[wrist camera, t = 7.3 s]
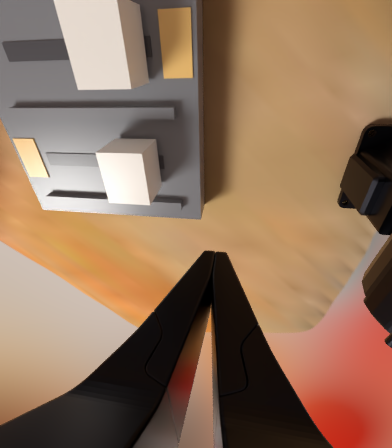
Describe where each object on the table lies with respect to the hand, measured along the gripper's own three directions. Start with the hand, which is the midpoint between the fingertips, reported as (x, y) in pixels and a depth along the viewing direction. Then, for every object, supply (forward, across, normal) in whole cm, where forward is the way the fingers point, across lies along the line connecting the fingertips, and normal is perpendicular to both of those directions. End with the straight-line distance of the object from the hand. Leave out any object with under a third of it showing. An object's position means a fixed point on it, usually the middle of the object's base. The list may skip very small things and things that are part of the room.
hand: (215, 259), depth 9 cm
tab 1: (+10, +7, -7) cm, 14 cm away
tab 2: (+10, +7, 0) cm, 12 cm away
